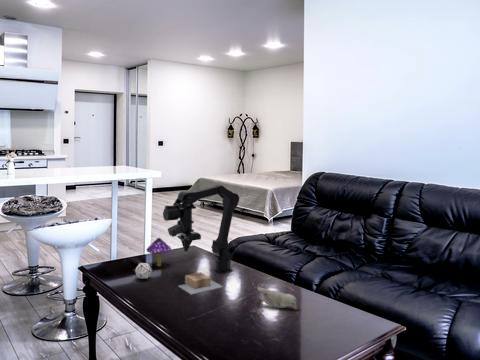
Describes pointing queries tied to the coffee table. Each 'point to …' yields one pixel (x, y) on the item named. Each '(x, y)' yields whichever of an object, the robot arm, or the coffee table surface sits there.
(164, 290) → the coffee table surface
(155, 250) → the decorative mushroom
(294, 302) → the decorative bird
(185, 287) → the rubber mat
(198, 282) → the brown wooden block
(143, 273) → the game die
